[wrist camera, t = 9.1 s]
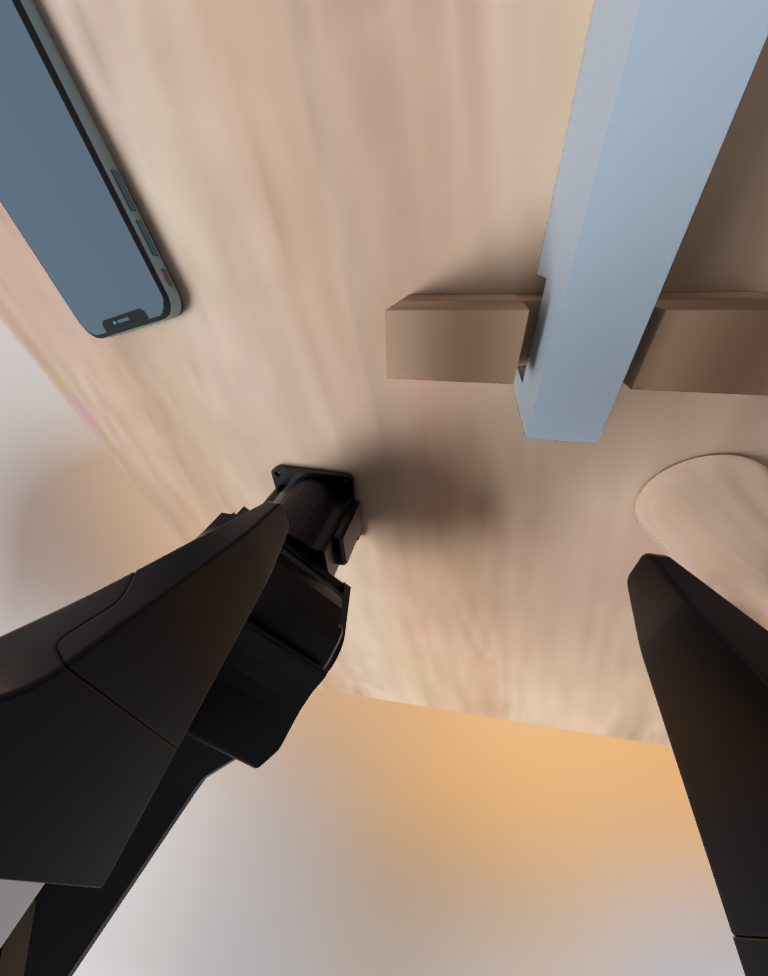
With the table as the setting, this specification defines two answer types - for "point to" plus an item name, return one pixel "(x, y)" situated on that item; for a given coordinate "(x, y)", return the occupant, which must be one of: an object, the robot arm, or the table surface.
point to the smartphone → (72, 188)
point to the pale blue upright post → (628, 193)
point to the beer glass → (714, 525)
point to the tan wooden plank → (512, 320)
